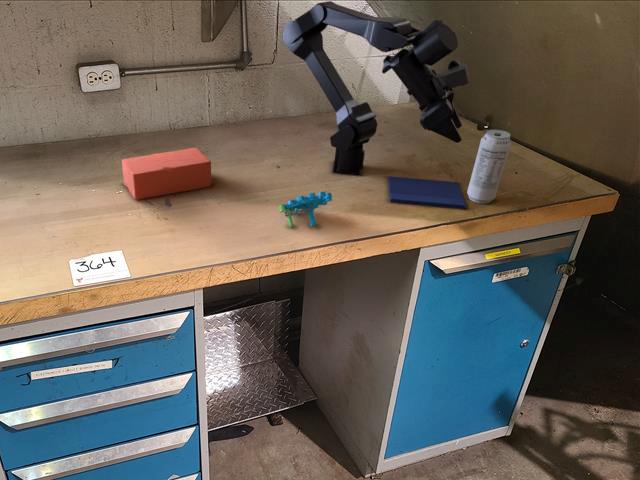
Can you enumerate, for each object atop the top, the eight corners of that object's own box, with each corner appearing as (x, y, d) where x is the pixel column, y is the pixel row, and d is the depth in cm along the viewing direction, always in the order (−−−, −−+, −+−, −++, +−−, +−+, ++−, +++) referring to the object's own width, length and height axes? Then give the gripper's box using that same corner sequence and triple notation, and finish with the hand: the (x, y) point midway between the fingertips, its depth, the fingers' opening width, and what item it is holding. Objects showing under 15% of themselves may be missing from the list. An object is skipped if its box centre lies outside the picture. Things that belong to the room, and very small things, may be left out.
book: (390, 202, 132) (390, 198, 132) (388, 177, 143) (389, 174, 142) (465, 209, 130) (466, 205, 130) (457, 183, 141) (458, 180, 140)
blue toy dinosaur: (326, 200, 128) (335, 185, 118) (332, 227, 127) (342, 213, 118) (275, 210, 127) (281, 195, 117) (281, 237, 127) (287, 224, 117)
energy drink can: (496, 196, 135) (515, 132, 127) (490, 207, 131) (510, 140, 122) (469, 190, 138) (486, 126, 129) (463, 200, 134) (480, 135, 125)
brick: (196, 171, 143) (196, 147, 140) (211, 186, 137) (211, 161, 133) (123, 183, 137) (121, 158, 133) (135, 200, 130) (133, 174, 127)
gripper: (449, 60, 113) (496, 124, 116) (451, 39, 127) (493, 97, 131) (400, 98, 119) (446, 158, 123) (407, 74, 134) (448, 128, 137)
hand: (459, 134), depth 128 cm, fingers open, 9 cm apart
